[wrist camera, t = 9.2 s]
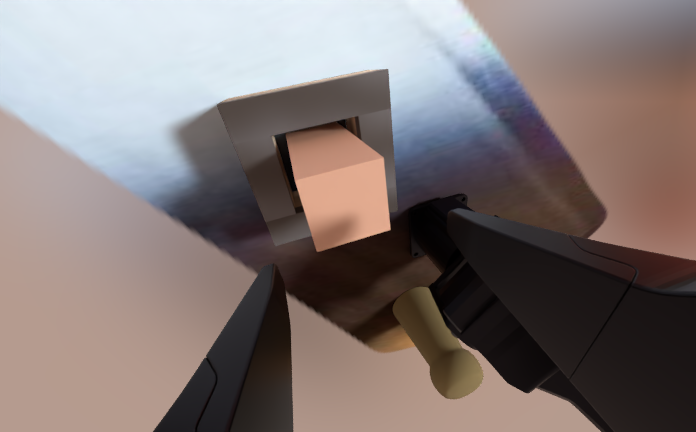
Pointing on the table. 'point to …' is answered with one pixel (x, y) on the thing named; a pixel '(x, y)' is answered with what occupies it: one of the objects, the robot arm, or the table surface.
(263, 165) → the socket block
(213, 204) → the table surface
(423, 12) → the table surface
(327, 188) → the square peg
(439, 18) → the table surface
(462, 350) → the beige pepper mill
